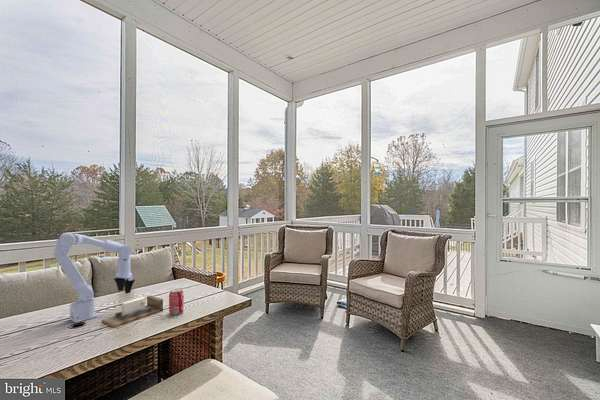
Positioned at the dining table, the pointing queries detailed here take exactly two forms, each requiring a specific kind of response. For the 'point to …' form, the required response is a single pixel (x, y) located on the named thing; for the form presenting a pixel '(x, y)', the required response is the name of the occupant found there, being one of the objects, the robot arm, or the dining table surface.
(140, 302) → the door panel
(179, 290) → the soda can
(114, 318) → the board
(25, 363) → the dining table surface
